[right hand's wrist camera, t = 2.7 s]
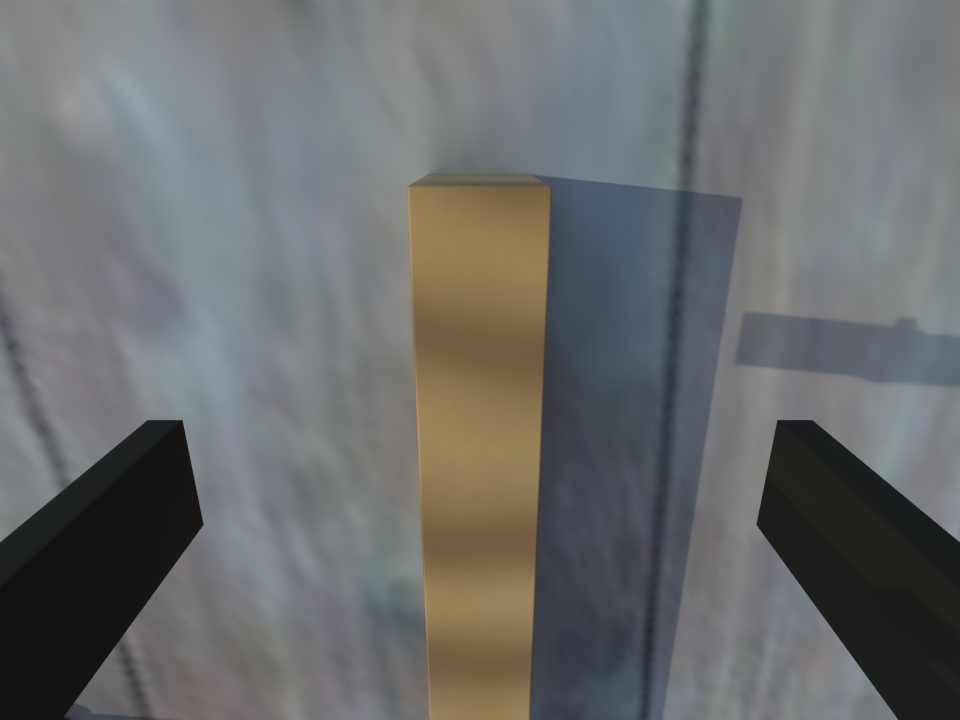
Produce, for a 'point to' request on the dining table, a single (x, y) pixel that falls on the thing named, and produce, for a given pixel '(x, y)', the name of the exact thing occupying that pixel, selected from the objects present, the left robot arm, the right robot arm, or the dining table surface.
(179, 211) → the dining table surface
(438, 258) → the post
